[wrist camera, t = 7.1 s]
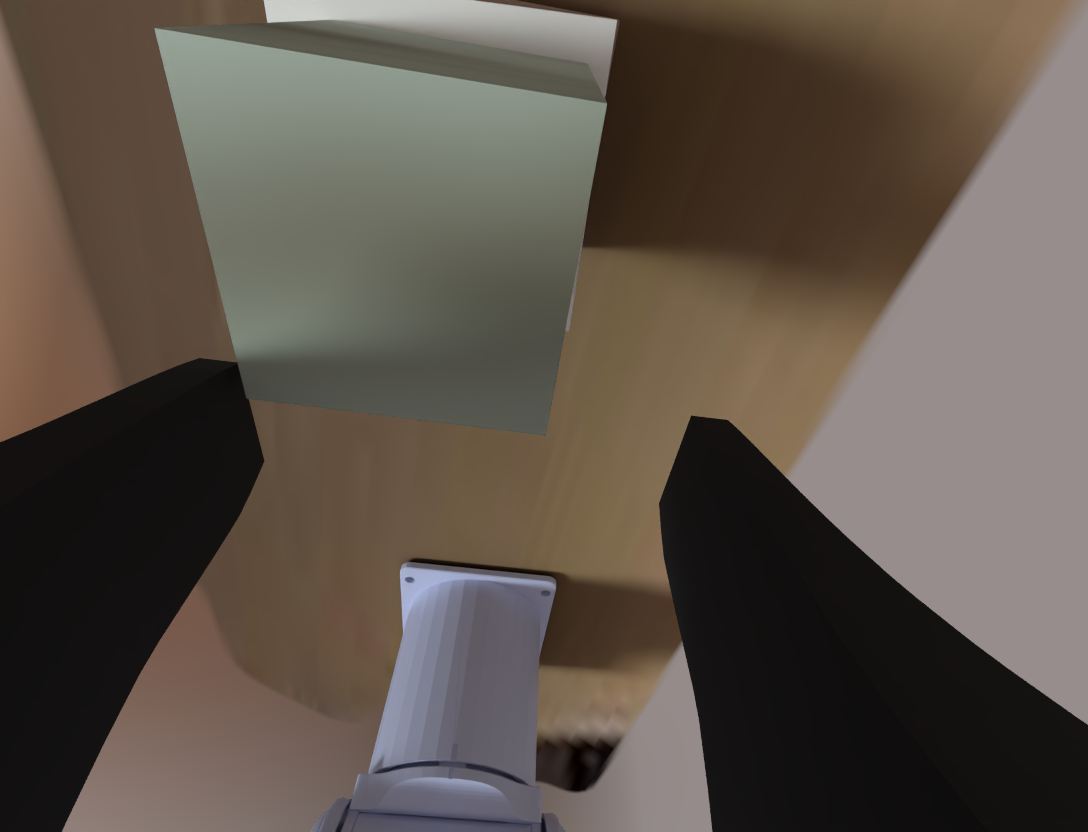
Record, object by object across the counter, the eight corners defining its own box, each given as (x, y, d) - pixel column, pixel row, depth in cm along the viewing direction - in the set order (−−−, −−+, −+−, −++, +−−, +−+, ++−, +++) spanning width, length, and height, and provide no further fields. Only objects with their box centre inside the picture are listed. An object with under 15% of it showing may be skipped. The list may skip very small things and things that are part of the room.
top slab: (567, 280, 15) (569, 331, 13) (354, 256, 15) (314, 303, 12) (605, 17, 11) (617, 19, 9) (322, -22, 11) (259, -30, 9)
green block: (550, 296, 12) (545, 436, 8) (351, 268, 12) (246, 398, 8) (587, 64, 9) (607, 103, 5) (330, 19, 9) (153, 27, 5)
